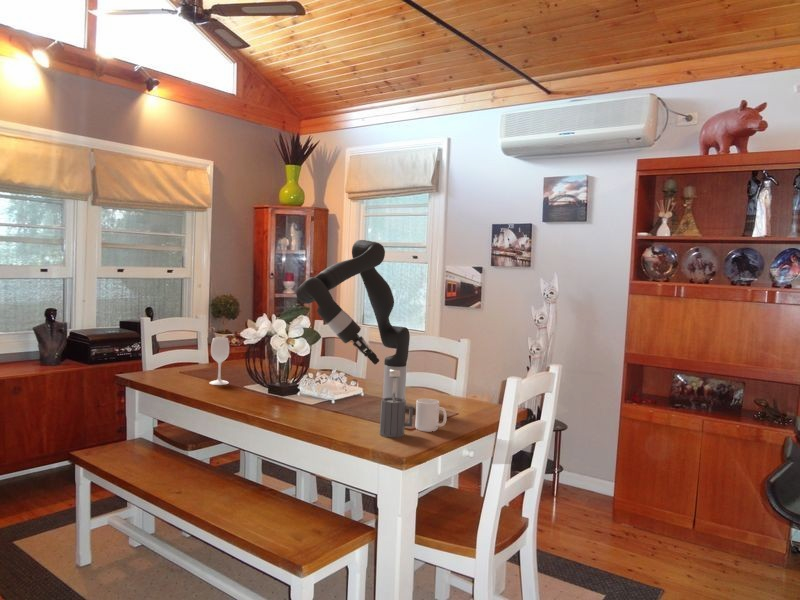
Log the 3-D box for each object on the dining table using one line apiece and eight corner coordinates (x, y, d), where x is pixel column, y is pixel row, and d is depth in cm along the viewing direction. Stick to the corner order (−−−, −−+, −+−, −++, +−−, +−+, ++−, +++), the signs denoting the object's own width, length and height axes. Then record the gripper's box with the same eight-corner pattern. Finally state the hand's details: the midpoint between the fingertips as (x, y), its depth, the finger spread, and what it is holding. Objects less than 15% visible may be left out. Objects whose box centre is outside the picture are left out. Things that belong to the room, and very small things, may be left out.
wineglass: (208, 385, 266) (209, 339, 265) (209, 381, 274) (211, 336, 273) (228, 385, 268) (229, 339, 267) (229, 381, 276) (230, 337, 275)
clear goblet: (384, 402, 204) (386, 368, 204) (400, 402, 205) (401, 368, 204) (386, 405, 199) (388, 371, 198) (402, 406, 200) (403, 371, 199)
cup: (422, 424, 218) (424, 397, 217) (451, 430, 211) (452, 402, 211) (410, 428, 211) (412, 401, 210) (440, 435, 204) (441, 406, 204)
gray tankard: (378, 430, 206) (380, 397, 206) (409, 430, 208) (411, 397, 207) (381, 437, 198) (382, 402, 197) (413, 437, 200) (415, 403, 199)
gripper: (353, 320, 191) (386, 356, 194) (350, 316, 205) (381, 349, 208) (336, 336, 191) (370, 372, 193) (334, 331, 205) (366, 364, 207)
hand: (376, 360), depth 200 cm, fingers open, 8 cm apart
